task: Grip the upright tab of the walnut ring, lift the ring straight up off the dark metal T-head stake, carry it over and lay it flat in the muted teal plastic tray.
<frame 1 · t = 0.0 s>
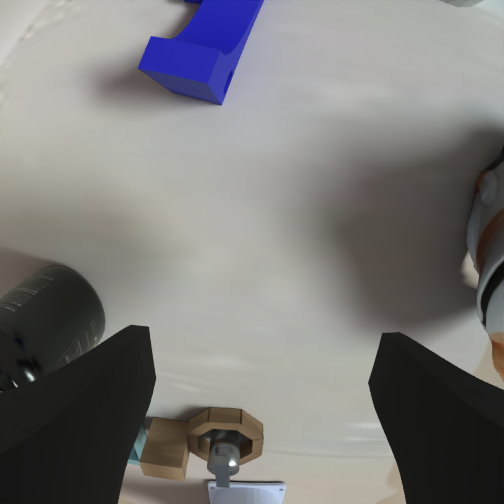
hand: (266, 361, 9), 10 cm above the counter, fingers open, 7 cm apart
supplement bottle: (69, 306, 20), on the counter
ring: (226, 431, 23), on the counter
blue curved cradle: (220, 10, 15), on the counter
stake: (226, 431, 23), on the counter
tray: (76, 408, 23), on the counter
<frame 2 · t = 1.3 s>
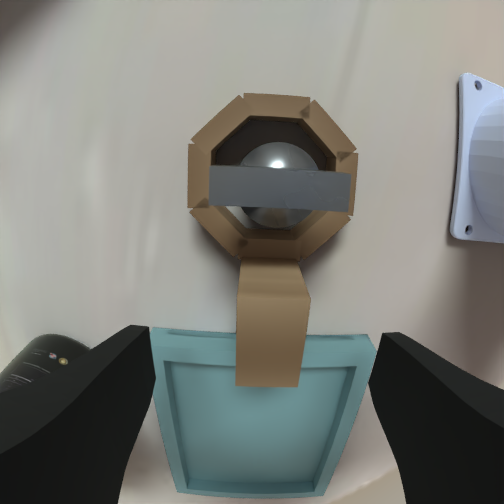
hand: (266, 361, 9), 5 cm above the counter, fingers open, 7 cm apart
supplement bottle: (75, 375, 16), on the counter
ring: (271, 175, 12), on the counter
stake: (271, 175, 12), on the counter
tray: (255, 428, 17), on the counter
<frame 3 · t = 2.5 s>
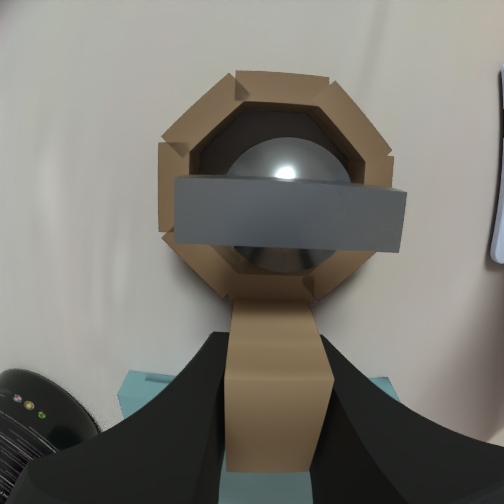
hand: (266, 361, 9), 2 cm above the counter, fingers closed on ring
supplement bottle: (50, 411, 13), on the counter
ring: (273, 184, 9), on the counter, touching gripper
stake: (273, 184, 9), on the counter
tray: (253, 473, 13), on the counter
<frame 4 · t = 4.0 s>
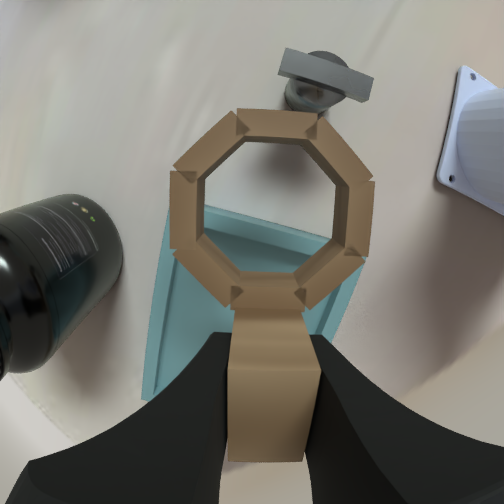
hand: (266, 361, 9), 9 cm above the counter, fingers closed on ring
supplement bottle: (79, 245, 18), on the counter
ring: (270, 208, 11), point 6 cm above the counter, touching gripper
stake: (307, 93, 15), on the counter
tray: (239, 329, 19), on the counter
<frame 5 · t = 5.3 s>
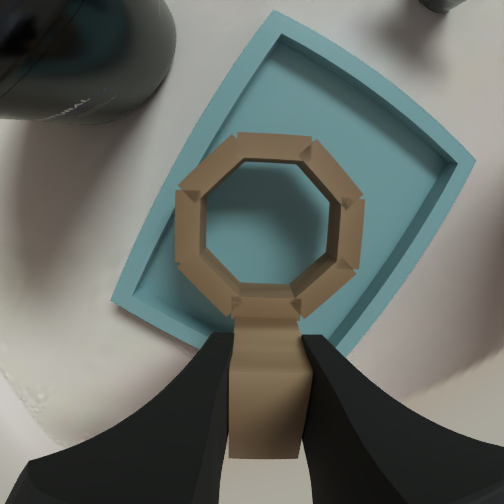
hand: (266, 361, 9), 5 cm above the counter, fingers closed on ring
supplement bottle: (110, 55, 11), on the counter
ring: (267, 224, 11), point 2 cm above the counter, tilted 6°, touching gripper
tray: (295, 218, 13), on the counter
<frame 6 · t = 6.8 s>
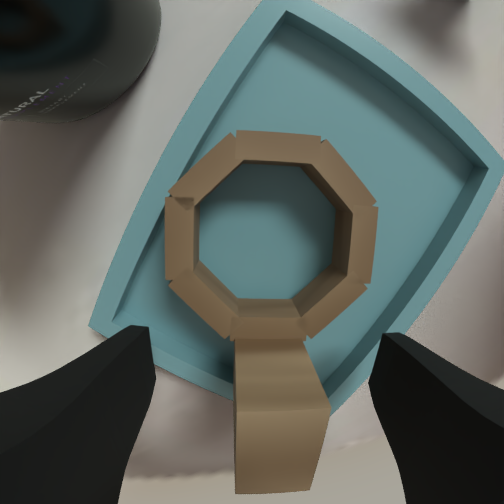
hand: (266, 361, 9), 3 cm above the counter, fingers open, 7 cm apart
supplement bottle: (87, 43, 9), on the counter
ring: (268, 233, 10), point 1 cm above the counter, tilted 7°, touching tray
tray: (302, 231, 11), on the counter
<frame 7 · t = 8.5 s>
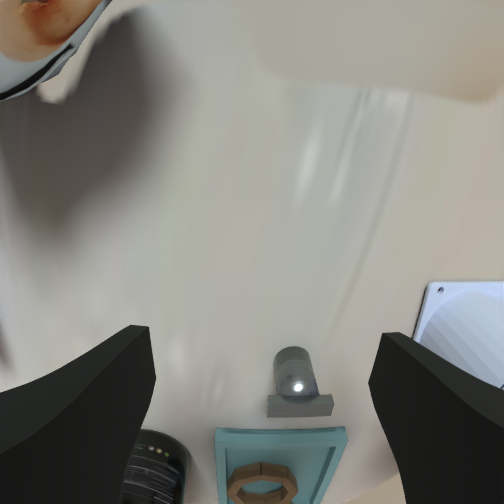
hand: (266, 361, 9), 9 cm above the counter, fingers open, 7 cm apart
supplement bottle: (155, 448, 24), on the counter
ring: (261, 481, 24), point 1 cm above the counter, tilted 7°, touching tray
stake: (292, 361, 20), on the counter
tray: (274, 472, 25), on the counter
lucky cat figurine: (62, 15, 14), on the counter
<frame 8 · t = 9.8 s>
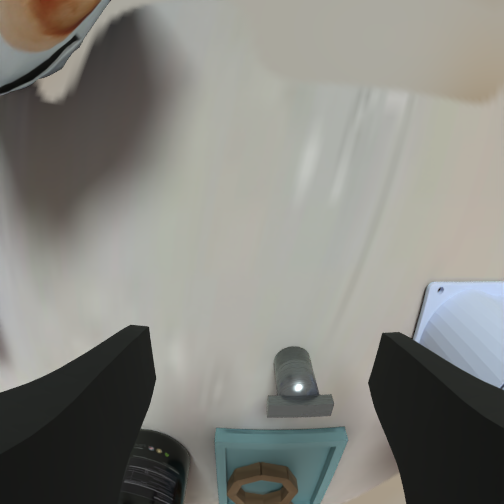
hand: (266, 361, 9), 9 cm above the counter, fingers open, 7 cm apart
supplement bottle: (155, 448, 24), on the counter
ring: (261, 481, 24), point 1 cm above the counter, tilted 7°, touching tray
stake: (292, 361, 20), on the counter
tray: (274, 472, 25), on the counter
lucky cat figurine: (65, 11, 13), on the counter
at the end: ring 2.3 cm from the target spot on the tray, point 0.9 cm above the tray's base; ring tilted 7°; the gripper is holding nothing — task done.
